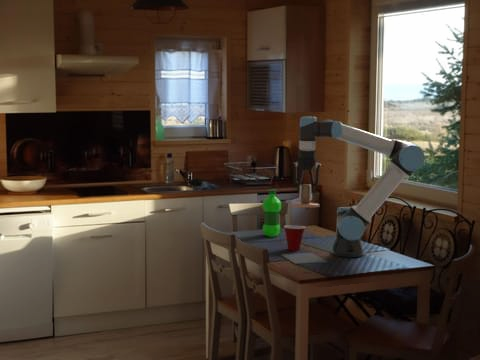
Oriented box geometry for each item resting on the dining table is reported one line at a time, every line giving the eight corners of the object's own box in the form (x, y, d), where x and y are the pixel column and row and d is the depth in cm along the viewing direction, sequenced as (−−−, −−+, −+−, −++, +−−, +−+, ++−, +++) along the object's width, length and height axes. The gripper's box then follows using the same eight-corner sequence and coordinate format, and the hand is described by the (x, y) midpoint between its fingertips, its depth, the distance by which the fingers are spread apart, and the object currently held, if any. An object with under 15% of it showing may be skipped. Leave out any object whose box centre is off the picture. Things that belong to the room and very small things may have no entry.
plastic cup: (304, 247, 390) (305, 224, 389) (304, 252, 380) (305, 228, 378) (283, 246, 391) (284, 223, 390) (282, 251, 381) (283, 227, 379)
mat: (327, 262, 360) (327, 261, 360) (295, 264, 355) (295, 263, 355) (311, 253, 377) (311, 252, 377) (281, 255, 372) (281, 254, 372)
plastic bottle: (258, 234, 420) (260, 188, 416) (277, 233, 423) (278, 188, 420) (265, 238, 410) (266, 191, 407) (283, 237, 413) (284, 191, 410)
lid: (324, 206, 363) (325, 185, 362) (307, 207, 353) (308, 185, 353) (303, 204, 372) (304, 183, 371) (285, 205, 362) (286, 183, 362)
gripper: (326, 149, 361) (324, 199, 364) (290, 148, 364) (289, 197, 368) (324, 151, 353) (322, 201, 356) (287, 149, 357) (286, 199, 360)
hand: (305, 199), depth 362 cm, fingers closed on lid, 4 cm apart
